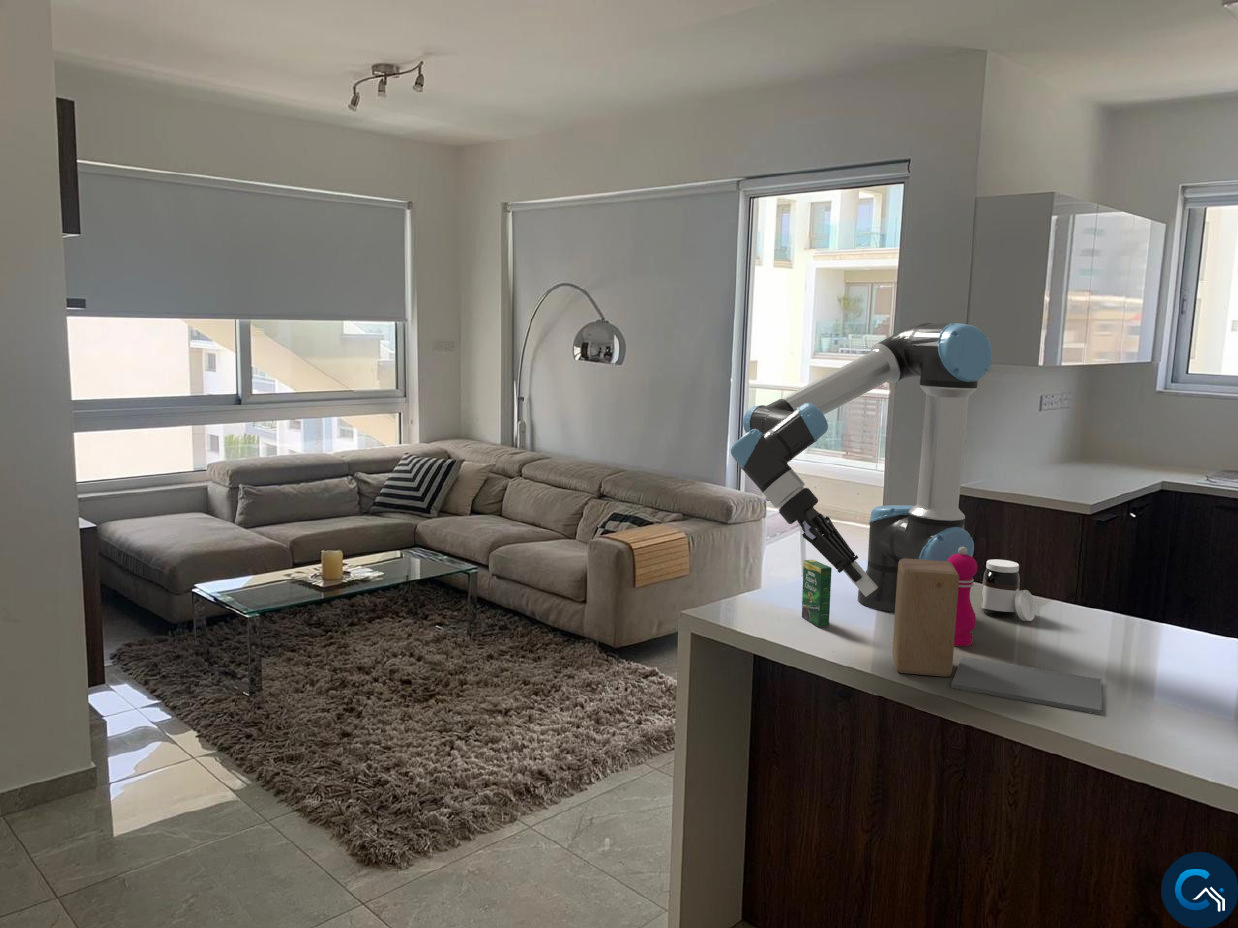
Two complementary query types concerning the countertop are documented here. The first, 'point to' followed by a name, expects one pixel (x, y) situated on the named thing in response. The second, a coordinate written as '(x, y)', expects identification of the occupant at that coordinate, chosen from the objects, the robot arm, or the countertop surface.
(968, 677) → the mat
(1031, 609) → the spread jar
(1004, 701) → the countertop surface
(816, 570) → the coffee box
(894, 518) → the robot arm
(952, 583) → the wooden block
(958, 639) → the pepper mill
